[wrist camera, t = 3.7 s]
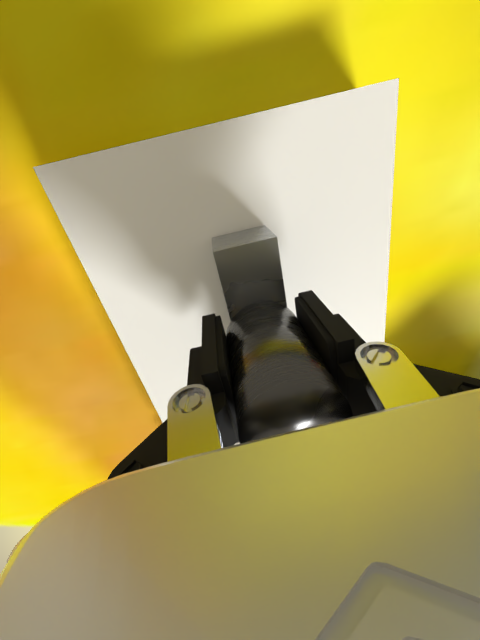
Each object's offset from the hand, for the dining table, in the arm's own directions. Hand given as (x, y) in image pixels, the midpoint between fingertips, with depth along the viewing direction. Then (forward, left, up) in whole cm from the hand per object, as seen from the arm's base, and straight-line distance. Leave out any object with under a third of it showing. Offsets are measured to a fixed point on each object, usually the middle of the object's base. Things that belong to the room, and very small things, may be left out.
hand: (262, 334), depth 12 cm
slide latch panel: (0, +5, -5) cm, 7 cm away
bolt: (0, +2, -2) cm, 3 cm away
